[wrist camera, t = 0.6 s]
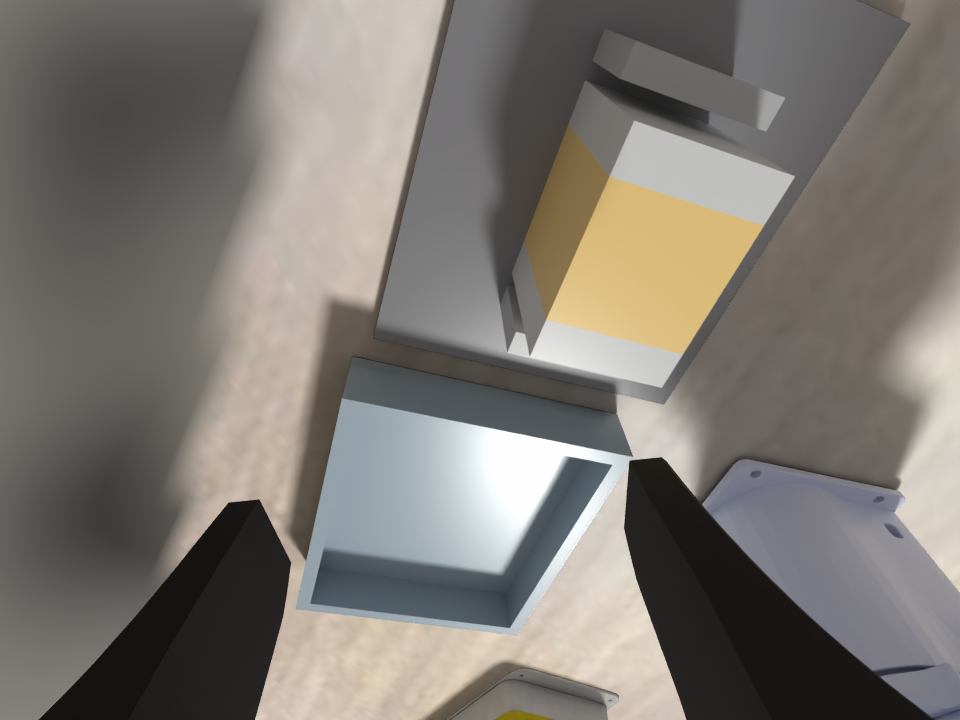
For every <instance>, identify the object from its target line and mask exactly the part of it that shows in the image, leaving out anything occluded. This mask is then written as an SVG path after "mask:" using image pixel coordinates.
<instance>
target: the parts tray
mask: <svg viewBox="0 0 960 720" xmlns="http://www.w3.org/2000/svg"><path fill="white" fill-rule="evenodd" d="M632 458H633V455H632V452H631V450H630V447H629V445H628V442H627V439H626V437H625V434H624V431H623V429H622V426H621V423H620V421H619V418H618V415H617V414H613V413H608V412H604V411H599V410H594V409H590V408H585V407H581V406H576V405H572V404H567V403H562V402H558V401H553V400H549V399H544V398H540V397H535V396H530V395H526V394H521V393H517V392H512V391H508V390H503V389H498V388H494V387H489V386H485V385H480V384H476V383H471V382H466V381H462V380H457V379H453V378H448V377H444V376H439V375H434V374H430V373H425V372H421V371H416V370H412V369H407V368H402V367H398V366H393V365H389V364H384V363H380V362H375V361H370V360H366V359H361V358H357V357H352V359H351V363H350V367H349V371H348V375H347V380H346V384H345V388H344V392H343V396H342V400H341V405H340V409H339V414H338V418H337V423H336V428H335V432H334V437H333V441H332V446H331V450H330V455H329V459H328V464H327V469H326V473H325V478H324V482H323V487H322V491H321V496H320V500H319V505H318V510H317V514H316V519H315V523H314V528H313V532H312V537H311V541H310V546H309V551H308V555H307V560H306V564H305V569H304V573H303V578H302V582H301V587H300V591H299V596H298V601H297V605H296V609H300V610H308V611H316V612H325V613H333V614H341V615H350V616H358V617H366V618H375V619H383V620H391V621H400V622H408V623H416V624H425V625H433V626H442V627H450V628H458V629H467V630H475V631H483V632H492V633H500V634H508V635H518V633H519V631H520V630H521V628H522V627H523V625H524V624H525V622H526V621H527V619H528V618H529V616H530V615H531V613H532V612H533V610H534V609H535V607H536V605H537V604H538V602H539V601H540V599H541V598H542V596H543V595H544V593H545V592H546V590H547V589H548V587H549V586H550V584H551V582H552V581H553V579H554V578H555V576H556V575H557V573H558V572H559V570H560V569H561V567H562V566H563V564H564V563H565V561H566V559H567V558H568V556H569V555H570V553H571V552H572V550H573V549H574V547H575V546H576V544H577V543H578V541H579V540H580V538H581V536H582V535H583V533H584V532H585V530H586V529H587V527H588V526H589V524H590V523H591V521H592V520H593V518H594V517H595V515H596V513H597V512H598V510H599V509H600V507H601V506H602V504H603V503H604V501H605V500H606V498H607V497H608V495H609V494H610V492H611V490H612V489H613V487H614V486H615V484H616V483H617V481H618V480H619V478H620V477H621V475H622V474H623V472H624V471H625V469H626V467H627V466H628V464H629V461H631V460H632Z"/></svg>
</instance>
